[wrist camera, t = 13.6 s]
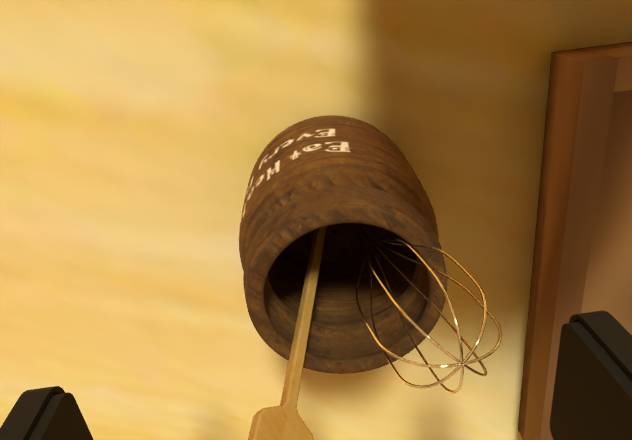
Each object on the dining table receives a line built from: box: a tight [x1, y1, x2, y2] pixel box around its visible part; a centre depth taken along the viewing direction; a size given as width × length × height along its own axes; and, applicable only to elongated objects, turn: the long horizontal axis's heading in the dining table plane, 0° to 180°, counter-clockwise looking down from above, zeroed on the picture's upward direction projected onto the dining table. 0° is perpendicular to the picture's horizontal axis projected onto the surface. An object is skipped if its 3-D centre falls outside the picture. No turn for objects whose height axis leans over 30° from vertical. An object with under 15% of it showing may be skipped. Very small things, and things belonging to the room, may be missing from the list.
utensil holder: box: [239, 116, 502, 440], centre depth 13 cm, size 6×6×12 cm
